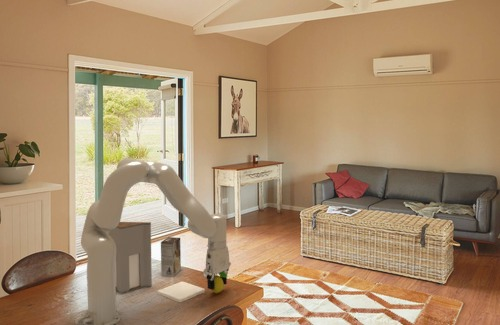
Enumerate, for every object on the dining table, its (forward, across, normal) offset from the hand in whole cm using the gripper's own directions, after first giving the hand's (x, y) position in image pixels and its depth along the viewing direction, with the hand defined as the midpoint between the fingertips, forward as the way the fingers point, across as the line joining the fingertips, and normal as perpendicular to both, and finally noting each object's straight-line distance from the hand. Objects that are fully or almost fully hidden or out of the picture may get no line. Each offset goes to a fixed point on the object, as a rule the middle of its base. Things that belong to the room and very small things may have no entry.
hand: (217, 285), depth 179 cm
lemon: (+3, 0, 0) cm, 3 cm away
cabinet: (+4, -22, +33) cm, 40 cm away
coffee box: (+3, +4, +33) cm, 33 cm away
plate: (+3, -9, +12) cm, 15 cm away
